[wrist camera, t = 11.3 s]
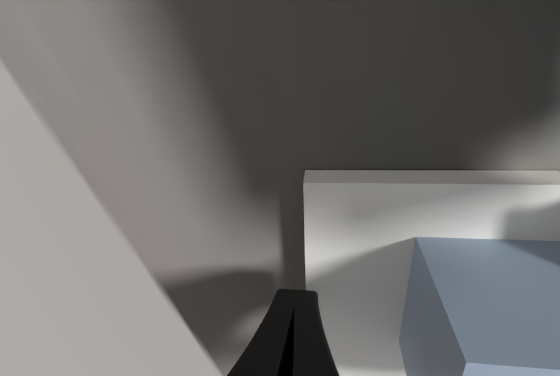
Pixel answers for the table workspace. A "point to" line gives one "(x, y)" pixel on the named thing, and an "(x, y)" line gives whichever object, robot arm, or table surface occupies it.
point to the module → (482, 308)
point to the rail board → (403, 243)
